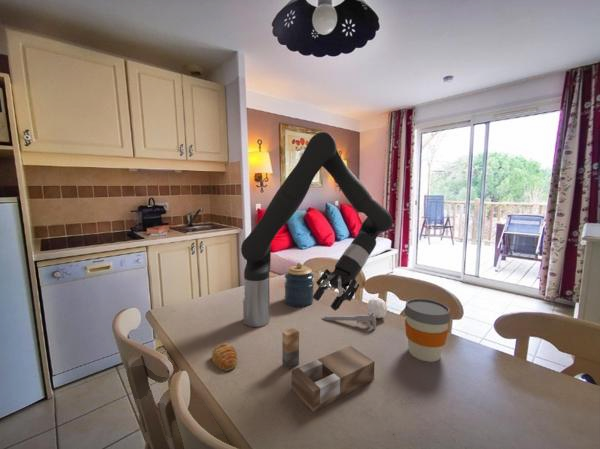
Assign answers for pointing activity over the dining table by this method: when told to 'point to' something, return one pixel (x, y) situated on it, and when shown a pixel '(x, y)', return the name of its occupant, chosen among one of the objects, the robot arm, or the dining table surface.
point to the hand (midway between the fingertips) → (323, 303)
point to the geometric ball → (377, 307)
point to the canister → (299, 286)
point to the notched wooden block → (332, 377)
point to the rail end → (290, 347)
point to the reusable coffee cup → (426, 328)
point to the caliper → (355, 319)
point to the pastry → (224, 357)
